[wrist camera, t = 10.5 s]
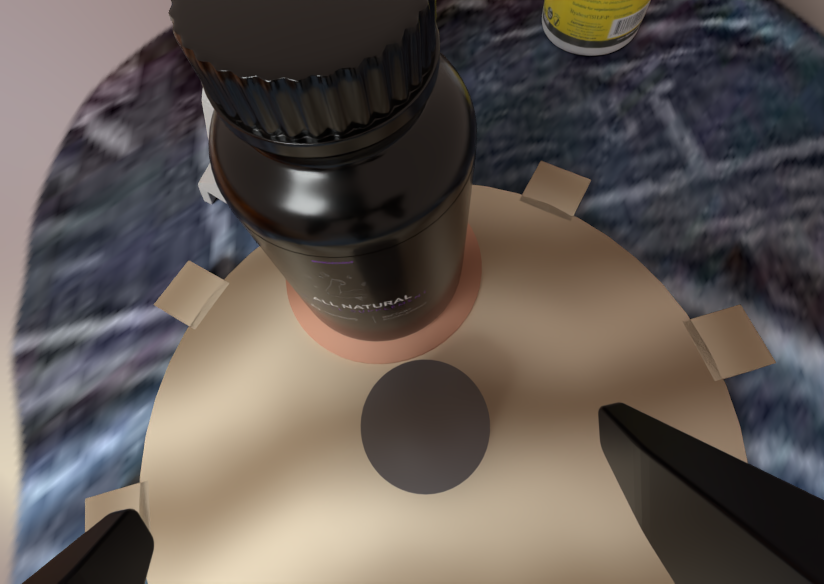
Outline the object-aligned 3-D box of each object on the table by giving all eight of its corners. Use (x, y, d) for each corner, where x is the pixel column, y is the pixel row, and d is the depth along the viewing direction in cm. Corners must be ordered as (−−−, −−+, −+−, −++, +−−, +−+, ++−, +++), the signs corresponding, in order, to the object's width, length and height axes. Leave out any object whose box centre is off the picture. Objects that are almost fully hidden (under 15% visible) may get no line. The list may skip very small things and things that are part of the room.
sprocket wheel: (969, 746, 13) (1205, 872, 9) (120, 1028, 13) (-43, 1304, 8) (599, 111, 23) (631, 32, 19) (110, 248, 22) (32, 198, 18)
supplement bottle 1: (358, 381, 17) (194, 216, 6) (275, 254, 19) (49, -33, 8) (498, 282, 18) (578, -10, 7) (404, 174, 21) (354, -174, 9)
